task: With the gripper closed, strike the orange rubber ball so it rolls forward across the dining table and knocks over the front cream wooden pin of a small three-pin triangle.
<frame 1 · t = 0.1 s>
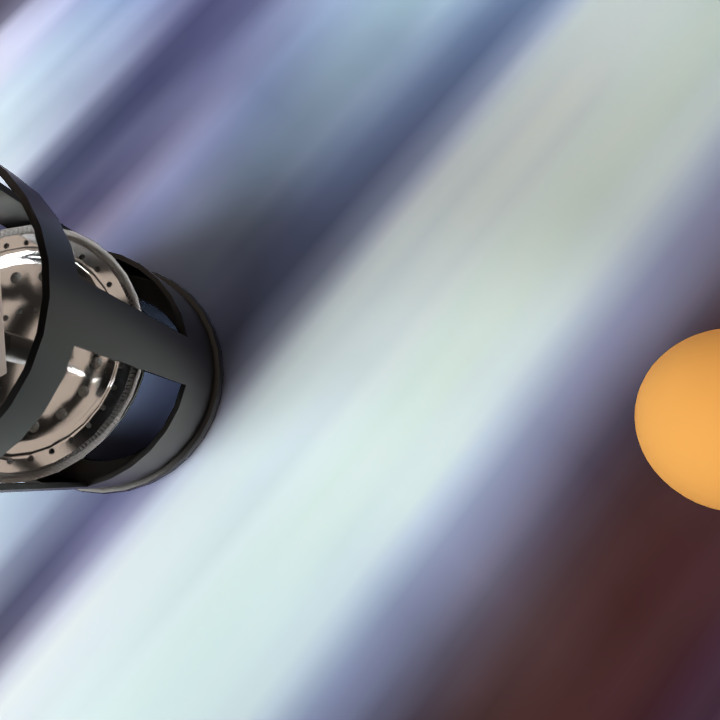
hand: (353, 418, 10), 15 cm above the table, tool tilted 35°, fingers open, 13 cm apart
french press: (105, 379, 27), on the table
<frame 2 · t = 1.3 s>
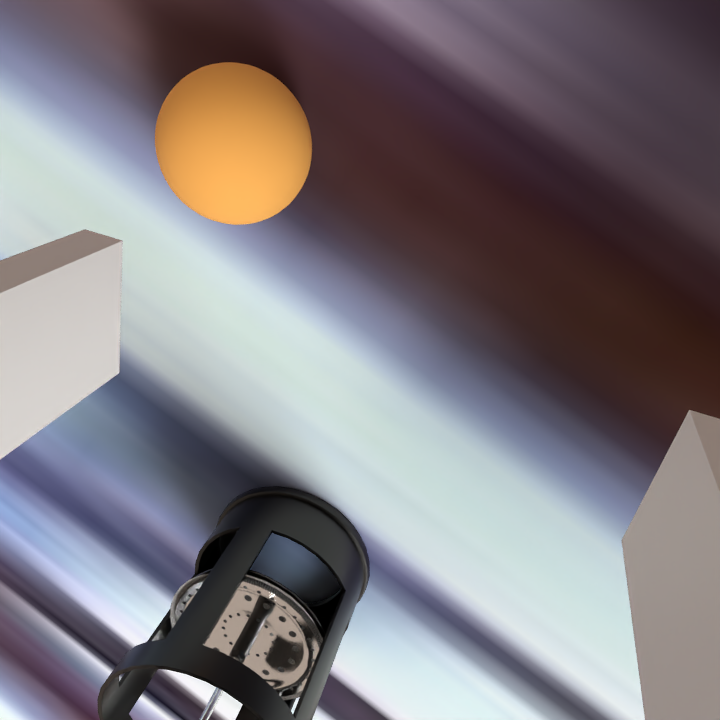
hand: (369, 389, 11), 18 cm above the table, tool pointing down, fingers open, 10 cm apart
french press: (294, 557, 38), on the table
ball: (235, 146, 25), on the table
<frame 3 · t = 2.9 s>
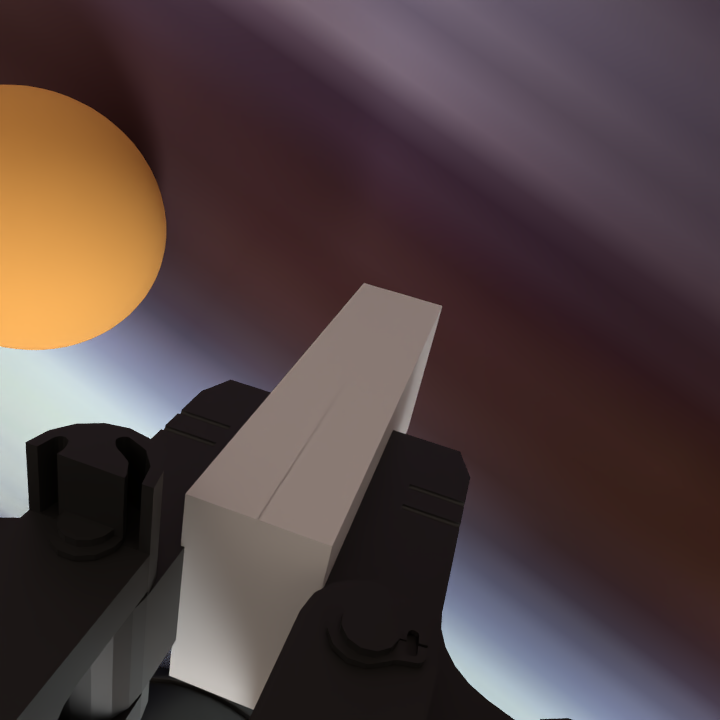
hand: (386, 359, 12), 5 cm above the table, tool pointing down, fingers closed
ball: (33, 222, 15), on the table
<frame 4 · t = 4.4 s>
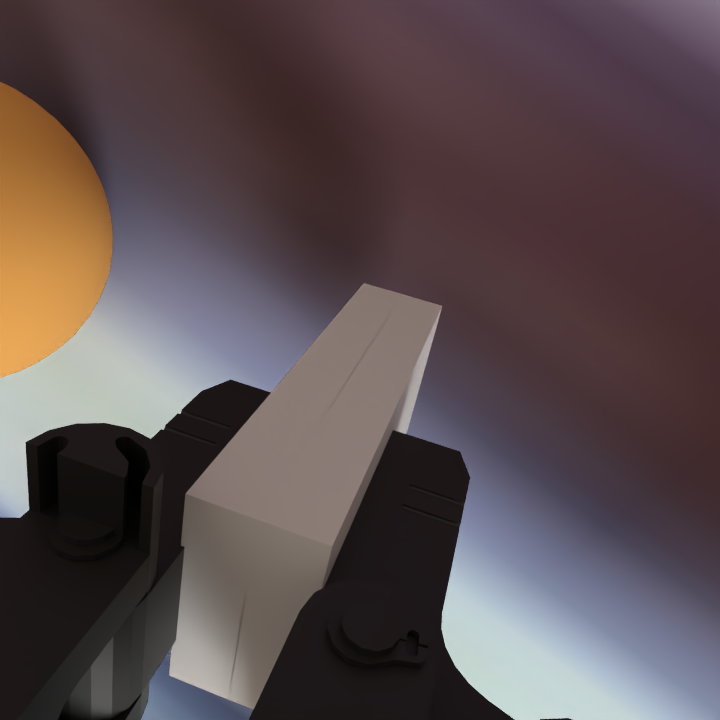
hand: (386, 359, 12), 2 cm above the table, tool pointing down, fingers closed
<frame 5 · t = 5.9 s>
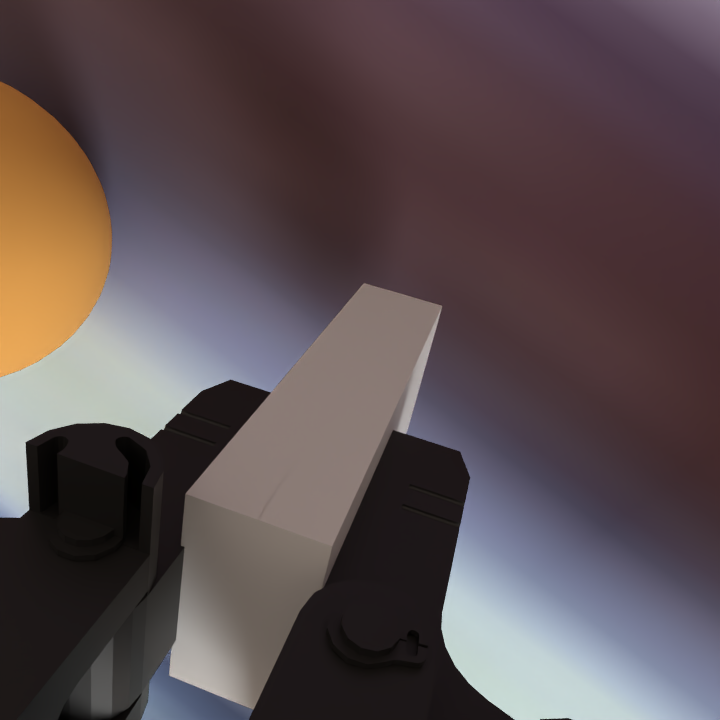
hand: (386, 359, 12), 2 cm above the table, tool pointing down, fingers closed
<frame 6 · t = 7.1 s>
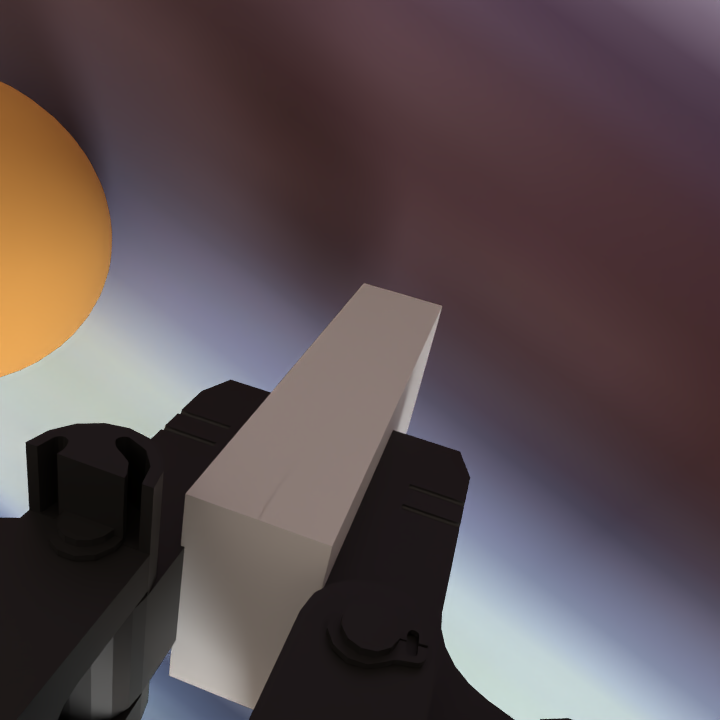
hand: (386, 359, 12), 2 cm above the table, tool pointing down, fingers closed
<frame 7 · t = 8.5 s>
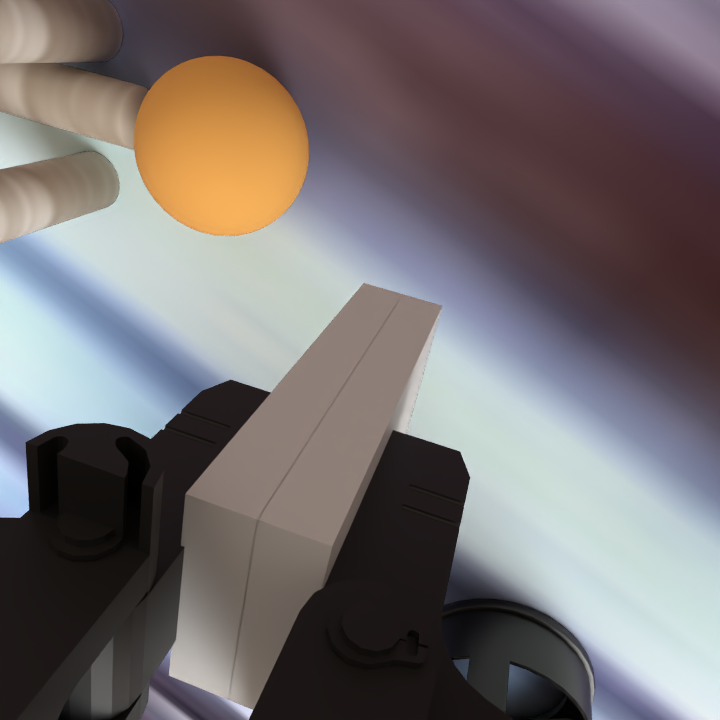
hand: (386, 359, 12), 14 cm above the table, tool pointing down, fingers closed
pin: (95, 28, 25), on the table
french press: (499, 671, 34), on the table
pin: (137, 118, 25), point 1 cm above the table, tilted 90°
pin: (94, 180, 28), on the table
ball: (223, 149, 23), on the table
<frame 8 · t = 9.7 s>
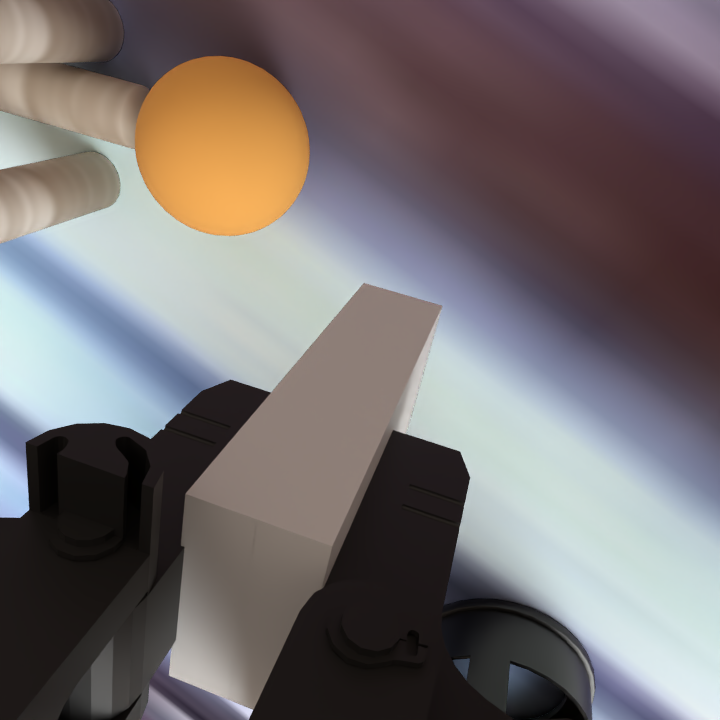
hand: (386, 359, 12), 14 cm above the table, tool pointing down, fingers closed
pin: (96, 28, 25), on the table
french press: (499, 671, 34), on the table
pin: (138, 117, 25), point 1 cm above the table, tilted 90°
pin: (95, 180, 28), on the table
ball: (224, 149, 23), on the table
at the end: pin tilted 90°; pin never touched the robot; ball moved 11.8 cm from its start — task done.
